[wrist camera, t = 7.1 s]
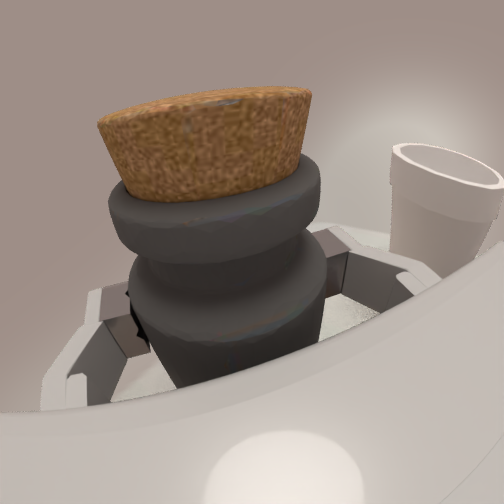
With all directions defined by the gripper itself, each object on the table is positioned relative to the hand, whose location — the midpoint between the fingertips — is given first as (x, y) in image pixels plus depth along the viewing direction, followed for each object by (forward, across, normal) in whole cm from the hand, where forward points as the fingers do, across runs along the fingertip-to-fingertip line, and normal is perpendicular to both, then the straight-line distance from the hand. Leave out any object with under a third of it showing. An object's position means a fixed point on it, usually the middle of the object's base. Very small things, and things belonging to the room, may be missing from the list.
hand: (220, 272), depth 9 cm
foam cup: (+3, -18, +12) cm, 22 cm away
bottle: (-1, 0, +10) cm, 10 cm away
